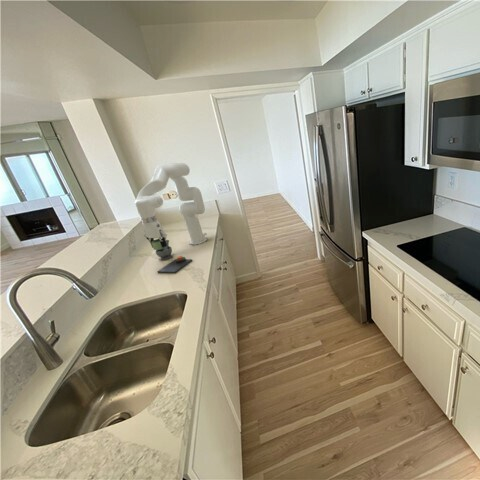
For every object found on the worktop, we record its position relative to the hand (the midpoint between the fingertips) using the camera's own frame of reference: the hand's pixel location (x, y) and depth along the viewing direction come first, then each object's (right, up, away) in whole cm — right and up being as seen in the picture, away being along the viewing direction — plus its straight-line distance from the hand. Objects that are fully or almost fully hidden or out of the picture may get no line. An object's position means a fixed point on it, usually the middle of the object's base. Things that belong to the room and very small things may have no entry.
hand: (159, 246), depth 163 cm
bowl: (0, -1, 0) cm, 1 cm away
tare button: (+7, -9, +11) cm, 16 cm away
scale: (+6, -13, +7) cm, 16 cm away
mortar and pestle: (-8, -8, +23) cm, 26 cm away
